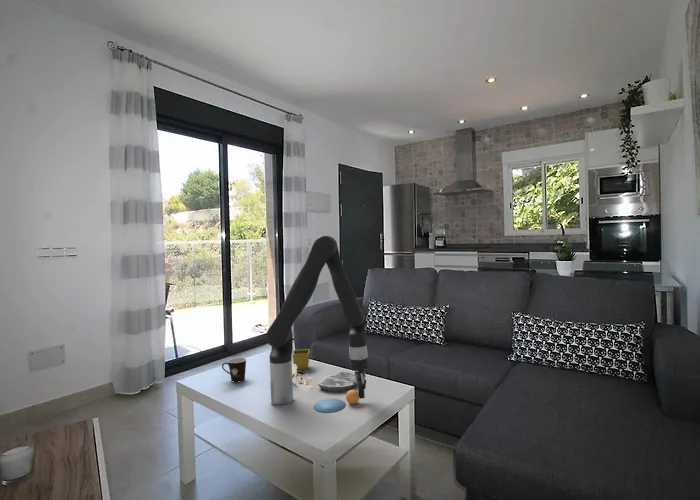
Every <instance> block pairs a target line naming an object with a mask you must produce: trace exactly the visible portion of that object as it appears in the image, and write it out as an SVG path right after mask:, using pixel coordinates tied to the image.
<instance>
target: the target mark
mask: <svg viewBox="0 0 700 500" xmlns="http://www.w3.org/2000/svg"><path fill="white" fill-rule="evenodd" d="M345 407H346V402H345V401H344V400H342V399H341V398H340V399H339V398H331V397H330V398H324V399H320V400H318V401H316V402H315V403H314V404H313V409H314V411H316V412H319V413H325V414H326V413H327V414H329V413H331V414H332V413H336V412H340V411H341V410H343V409H344V408H345Z"/></svg>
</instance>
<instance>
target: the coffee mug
mask: <svg viewBox="0 0 700 500" xmlns="http://www.w3.org/2000/svg"><path fill="white" fill-rule="evenodd" d="M224 365H228V369H229V371H228V370H227V369H225V368H224ZM246 367H247V358H245V357H235V358H234V357H233V358H230V359H229V360H228V361H227V362H223V363H222V365H221V368H222V370H223V371H224V372H226V373H227V374H229V375H230V381H231V382H232V381H234V382H237V383H239V382H238V381H242V382H244V381H245V379H246V369H247V368H246ZM243 380H244V381H243ZM234 382H233V383H234Z"/></svg>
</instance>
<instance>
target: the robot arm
mask: <svg viewBox="0 0 700 500" xmlns="http://www.w3.org/2000/svg"><path fill="white" fill-rule="evenodd" d="M325 265H326V266H327V268H328V270H329V274H330V276H331V282H332V285H333V288H334V291H335V293H336V296H337V298H338V300H339V302H340V306H341V309H342V312H343V316H344V319H345V322H347V324H348V325H349V331H348V332H349V333H348V345H349V349H348V350H349V351H348V353H349V367H350V369H351V370H353V371H354V375H355V377H356V386H357V389H358V390H357V392H358V394H359V400H360V399H365V390H366V387H367V386H366V385H367V379H366V377H367V376H366V372H365V370H366V369H368V367H369V356H368V355H369V354H368V348H367V347H368V346H367V337H366V314H365V311H364V309H363V308H362V307H360V306H359V305H358V302H357V296H356V293H355V290H354V288H353V286H352V283H351V281H350V279H349V277H348V275H347V273H346V272H347V271H346V270H345V267H344V264H343V262H342V258H341V256H340V251H339V247H338V243H337V240H336V238H334V237H332V236H330V235H320V236H318V237H317V238H315V240H314V241H313V244H312V246H311V248H310V251H309V253H308V256H307V258H306V260H305V263H304V264H303V266H302V267H301V269H300V271H299V272H298V274H297V276H296V278H295V279H294V280H293V283H292V284H291V287H290V288H289V291H288V292H287V293H288V294H287V295H286V297H285V299H284V301H283V304H282V306H281V309H280V310H279V313H278V314H277V316H276V317H275V319H274V321H273V322H272V323H271V325H270V326H269V328H268V329H267V331H266V334H265V335H266V337H265V338H266V342H267V343H268V345H269V346H271V351H270V354H269V371H270V372H269V374H270V381H269V383H270V386H269V387H270V403H271V404H270V405H277V406H281V405H288V404H291V403H292V402H293V401H294V384H293V383H294V382H293V351H294V350H293V349H294V348H293V347H294V346H293V344H294V343H293V342H294V341H293V330H292V327H293V326H294V323H295V321H296V320H297V318H298V317H299V316H300V315H301V313H302V312H303V310H304V309H305V308H306V306H307V305H308V304H309V302H310V299H311V298H312V296H313V294H314V292H315V290H316V288H317V285H318V281H319V278H320V275H321V272H322V270H323V268H324V266H325Z"/></svg>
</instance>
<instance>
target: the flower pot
mask: <svg viewBox="0 0 700 500" xmlns="http://www.w3.org/2000/svg"><path fill="white" fill-rule="evenodd" d="M292 363H293V365H294V364H296V365H297V367H298V369H299V370H298V371H300V370H307V369H308V367H309V363H310V349H309V348H307V349H306V348H305V349H294V350H293V351H292Z"/></svg>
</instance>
